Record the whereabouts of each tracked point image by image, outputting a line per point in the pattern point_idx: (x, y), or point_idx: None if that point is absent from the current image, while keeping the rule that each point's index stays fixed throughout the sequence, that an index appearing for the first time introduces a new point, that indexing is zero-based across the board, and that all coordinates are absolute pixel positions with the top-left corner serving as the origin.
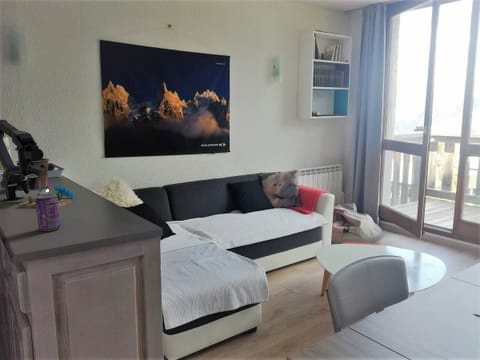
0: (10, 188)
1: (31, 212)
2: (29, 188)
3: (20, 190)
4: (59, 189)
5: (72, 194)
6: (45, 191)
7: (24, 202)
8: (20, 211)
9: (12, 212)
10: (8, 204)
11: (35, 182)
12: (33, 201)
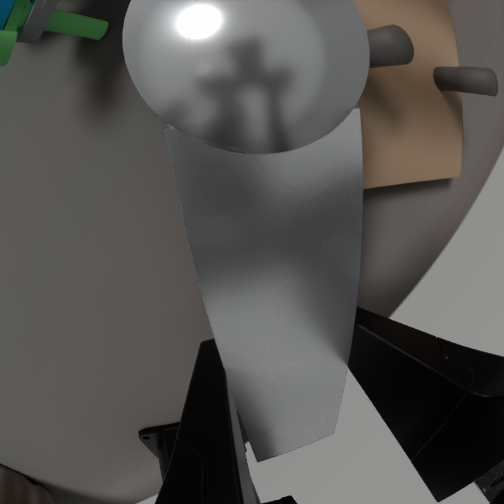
0: (256, 498)
1: (481, 11)
2: (38, 489)
3: (320, 420)
4: None
5: None
6: None
7: (423, 169)
8: None
9: (496, 116)
10: None
11: (192, 493)
12: (393, 99)
